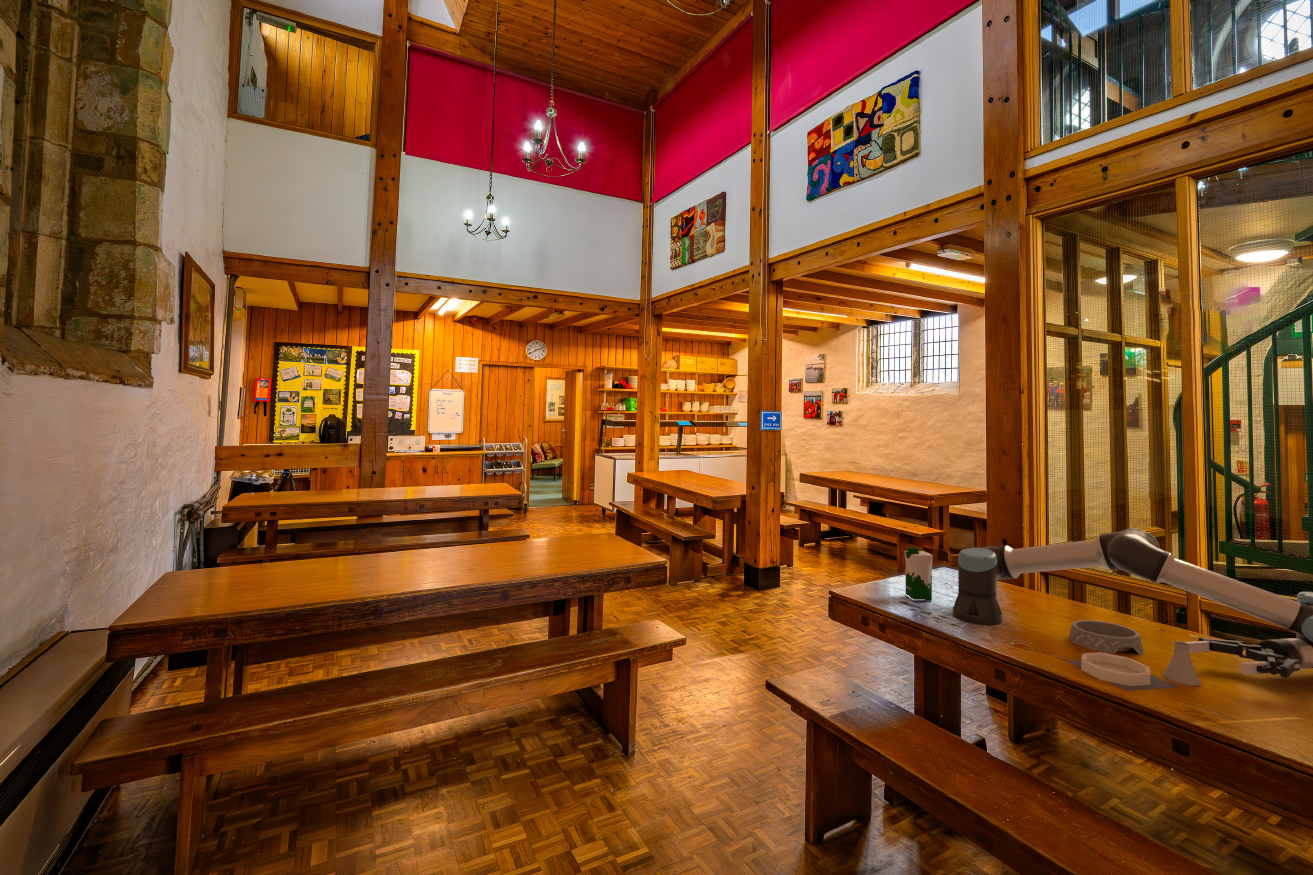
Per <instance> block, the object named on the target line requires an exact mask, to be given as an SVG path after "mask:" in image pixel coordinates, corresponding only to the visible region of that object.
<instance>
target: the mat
mask: <svg viewBox="0 0 1313 875" xmlns="http://www.w3.org/2000/svg"><path fill="white" fill-rule="evenodd" d="M1081 660H1082V659H1080V660H1079V659H1077V660H1066V662H1068V663H1069V664H1071V665H1074V666H1076V667H1078V668H1079V669H1081ZM1106 682H1108V681H1106ZM1108 683H1110V684H1112V685H1113V686H1115V687H1118V688H1120V689H1122V690H1123V691H1126V692H1127V691H1142V690H1144V691H1145V690H1160V689H1161V690H1162V689H1163V690H1164V689H1180V687H1179V686H1177V685H1175V684H1173V683H1171V682H1168V681H1166V680H1164V679H1161V678H1159V677H1158V676H1155V675H1153V674H1151V673H1150V685H1142V686H1126V685H1122V684H1117V683H1113V682H1108Z"/></svg>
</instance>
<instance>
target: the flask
mask: <svg viewBox="0 0 1313 875" xmlns="http://www.w3.org/2000/svg"><path fill="white" fill-rule="evenodd" d="M1185 642H1186V641H1180V640H1179V641H1178V640H1176V641H1174V640H1173V641H1172V644H1173V645H1174V651H1173V654H1172V657H1171V659H1170V660H1169V663H1168V664H1167V666H1166V668H1165V670H1164V672H1163V673H1162V675H1163V677H1164V679H1165V680H1168V681H1170V682H1172V683H1175V684H1176V685H1177V684H1178V685H1182V686H1183V685H1184V686H1188V687H1196V686H1202V684H1201V681H1200V679H1199V676H1198V675H1197V674H1198V673H1197V671H1196V670H1195V668H1194V664H1193V663H1192V660H1191V655H1190V653H1189V648H1190V647H1191V645H1190V644H1188V643H1185Z"/></svg>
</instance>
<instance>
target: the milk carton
mask: <svg viewBox="0 0 1313 875" xmlns="http://www.w3.org/2000/svg"><path fill="white" fill-rule="evenodd" d="M933 556H934V555H933V554H932V553H929V552H926V550H921V551H920V549H919V547H917V546H907V550H904V560H905V595H906V594H907V595H909V596H910V597H911V598H913V599H925V600H932V601H933V598H932V597H933V596H932V595H933V576H932V575H933V559H934V558H933Z"/></svg>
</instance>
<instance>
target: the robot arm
mask: <svg viewBox="0 0 1313 875" xmlns="http://www.w3.org/2000/svg"><path fill="white" fill-rule="evenodd" d="M957 565H958V569H957V572H958V573H957V574H958V575H957V576H958V578H957V580H958V583H957V584H958V585H957V586H958V587H957V588H958V592H957V593H958V594H957V596H956V599H955V602H954V604H953V607H952V615H953V617H955V616H956V617H957V618H956V617H955V618H956V619H958V618H959V619H958V620H961V621H964V622H968V623H972V624H977V625H998V624H999V625H1000V624H1001V623H1002V622H1003V613H1002V609H1001V607H1000V604H999V601H998V598H997V593H998V592H997V581H1002V580H1013V579H1014V580H1015V579H1018V577H1020V575H1021V574H1029V573H1040V572H1041V573H1042V572H1051V571H1061V570H1062V571H1063V570H1073V569H1075V570H1076V569H1085V568H1096V567H1104V568H1106V569H1107V570H1109V571H1118V570H1121V571H1123V572H1125V573H1128V574H1130V575H1133V576H1136V577H1138V578H1142V579H1145V580H1146V581H1150V582H1152V583H1154V584H1159V583H1165V584H1168V585H1171V586H1172V587H1176V588H1178V589H1181V590H1184V591H1187V592H1189V593H1191V594H1195V595H1197V596H1199V597H1202V598H1205V599H1207V600H1210V601H1212V602H1215V603H1217V604H1220V605H1223V606H1225V607H1229V608H1231V609H1234V610H1236V611H1239V612H1242V613H1244V614H1247V615H1249V616H1251V617H1254V618H1257V619H1260V620H1263V621H1265V622H1267V623H1270V624H1273V625H1276V626H1277V627H1278V626H1279V627H1280V628H1283V629H1285V630H1288V631H1290V632H1293V633H1296V638H1293V637H1291V638H1289V637H1288V638H1279V639H1277V638H1276V639H1275V638H1273V639H1263V640H1262V641H1260V642H1259V643H1258V644H1247V643H1246V644H1244V641H1243V640H1228V639H1220V638H1219V639H1218V638H1209V637H1198V638H1197V639H1198V641H1184V642H1185V643H1188V644H1190V645H1191V647H1190V648H1189V654H1194V653H1195V654H1196V653H1197V654H1198V653H1205V654H1207V653H1209V652H1215V653H1223V654H1227V655H1228V654H1229V655H1233V656H1238V657H1240V658H1242V659H1248V660H1253V661H1249V662H1247V661H1246V662H1245V661H1244V662H1240V663H1241V665H1240V667H1241V668H1240V671H1241V672H1240V673H1241V674H1242V675H1246V676H1247V675H1260V674H1262V675H1264V674H1265V675H1266V674H1270V675H1273V676H1276V675H1279V676H1280V677H1281V678H1283V679H1288V678H1289V677H1290V676H1291V675H1292V674H1293V673H1294V672H1299V671H1301V670H1302V669H1303V670H1304V669H1305V670H1306V669H1313V591H1301V592H1298V593H1297V594H1296V600H1293V599H1290V598H1287V597H1284V596H1281V595H1279V594H1277V593H1276V594H1275V593H1274V592H1271V591H1268V590H1265V589H1263V588H1260V587H1256V586H1254V585H1251V584H1248V583H1246V582H1242V581H1239V580H1238V579H1235V578H1231V577H1229V576H1226V575H1224V574H1221V573H1218V572H1215V571H1212V570H1209V569H1206V568H1203V567H1201V566H1198V565H1196V564H1195V565H1194V564H1192V563H1189V562H1186V561H1184V560H1180V559H1179V558H1176V557H1175V556H1174V555H1173V554H1172V553H1171V552H1169V551H1167V550H1164V549H1162V548H1160V544H1159V541H1158V540H1157V539H1156V537H1155V536H1154V535H1152V534H1151V533H1149V532H1147V531H1146V530H1143V529H1140V528H1126V529H1121V530H1120V531H1114V532H1106V533H1098V534H1097V536H1096V537H1095V538H1094V539H1089V540H1079V541H1078V540H1077V541H1071V542H1064V543H1054V544H1044V545H1040V546H1039V545H1038V546H1028V547H1021V548H1013V547H1011V546H1010V545H999V546H994V545H987V546H984V547H969V548H964V549H961V550H960V552H959V553H958V557H957ZM1244 651H1245V654H1244Z"/></svg>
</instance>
